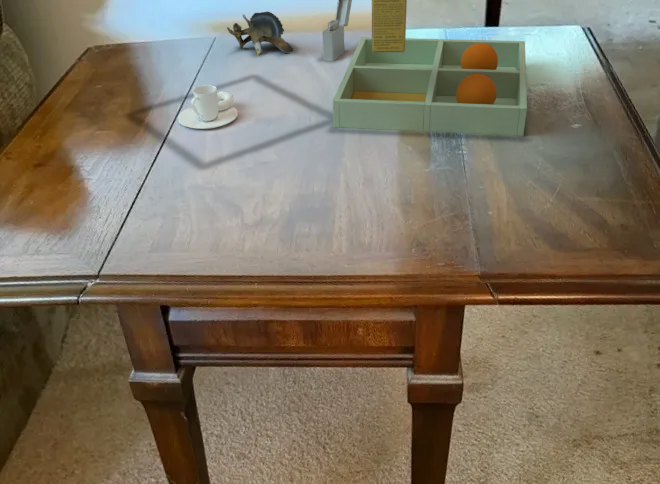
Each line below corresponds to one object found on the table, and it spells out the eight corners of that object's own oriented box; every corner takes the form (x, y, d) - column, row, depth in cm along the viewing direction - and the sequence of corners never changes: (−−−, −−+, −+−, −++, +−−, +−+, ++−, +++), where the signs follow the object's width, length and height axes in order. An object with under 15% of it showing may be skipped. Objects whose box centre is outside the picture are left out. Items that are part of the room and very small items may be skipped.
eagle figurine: (228, 54, 117) (284, 45, 115) (224, 7, 117) (279, -4, 114) (246, 66, 125) (299, 57, 122) (242, 21, 124) (295, 11, 122)
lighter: (333, 62, 116) (331, 7, 111) (323, 60, 117) (321, 6, 112) (352, 46, 121) (352, -6, 116) (342, 45, 122) (341, -7, 117)
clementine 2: (494, 106, 100) (498, 68, 96) (494, 122, 96) (498, 83, 93) (455, 104, 100) (458, 67, 97) (453, 120, 97) (456, 82, 94)
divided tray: (521, 69, 111) (524, 40, 108) (522, 140, 93) (527, 108, 90) (361, 64, 115) (361, 37, 112) (333, 131, 97) (332, 100, 94)
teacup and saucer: (223, 100, 106) (220, 71, 104) (254, 118, 101) (251, 88, 99) (167, 118, 102) (162, 88, 100) (197, 137, 97) (192, 107, 95)
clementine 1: (496, 73, 108) (500, 38, 105) (495, 87, 104) (499, 50, 101) (460, 72, 109) (463, 37, 106) (458, 86, 105) (461, 49, 102)
